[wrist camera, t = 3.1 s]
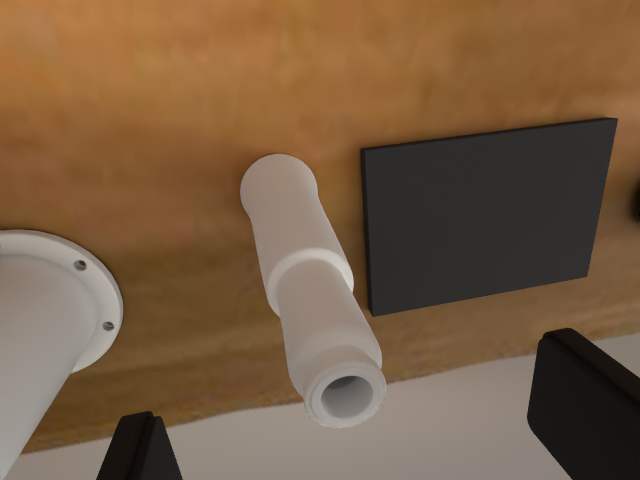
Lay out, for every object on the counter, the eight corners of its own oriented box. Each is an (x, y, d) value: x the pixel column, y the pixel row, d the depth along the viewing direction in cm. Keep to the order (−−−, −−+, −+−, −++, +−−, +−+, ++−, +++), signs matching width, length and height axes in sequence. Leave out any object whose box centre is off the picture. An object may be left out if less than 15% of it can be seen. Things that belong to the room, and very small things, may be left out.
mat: (368, 310, 36) (372, 317, 34) (360, 148, 30) (364, 150, 29) (577, 271, 38) (587, 277, 37) (606, 117, 33) (618, 118, 32)
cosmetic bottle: (331, 181, 30) (499, 358, 10) (289, 241, 32) (364, 504, 11) (268, 137, 28) (322, 249, 8) (225, 202, 30) (179, 441, 9)
